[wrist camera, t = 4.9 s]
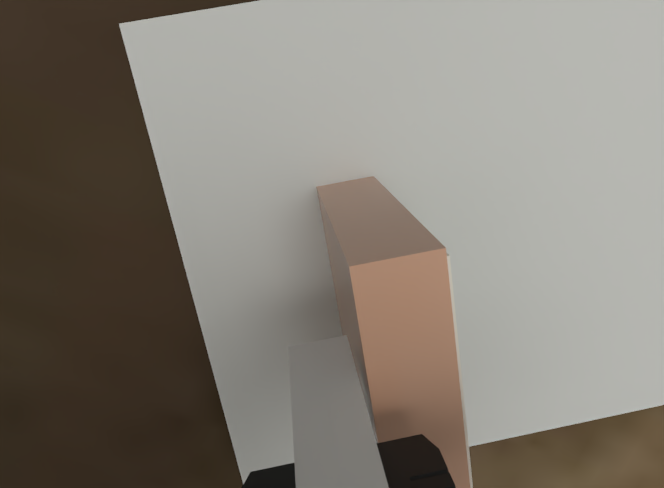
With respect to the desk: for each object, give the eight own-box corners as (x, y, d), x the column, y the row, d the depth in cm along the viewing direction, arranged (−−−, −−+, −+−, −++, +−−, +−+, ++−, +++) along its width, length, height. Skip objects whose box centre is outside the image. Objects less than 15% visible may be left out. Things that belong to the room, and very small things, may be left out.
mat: (246, 484, 22) (245, 494, 22) (123, 25, 17) (118, 23, 16) (698, 387, 23) (709, 394, 23) (728, -75, 18) (743, -80, 17)
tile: (351, 386, 21) (398, 565, 13) (316, 186, 18) (348, 266, 11) (407, 374, 21) (485, 545, 13) (380, 174, 18) (458, 245, 11)
